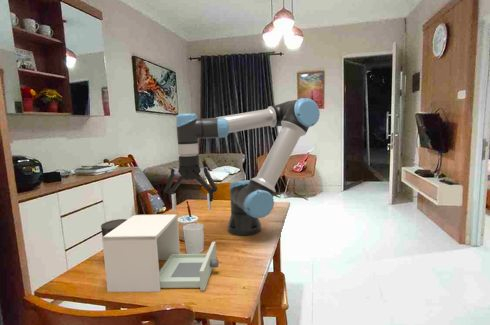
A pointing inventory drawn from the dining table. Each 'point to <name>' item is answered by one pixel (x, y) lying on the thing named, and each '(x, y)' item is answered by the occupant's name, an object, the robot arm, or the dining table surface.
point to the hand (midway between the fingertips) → (192, 210)
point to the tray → (188, 269)
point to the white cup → (194, 238)
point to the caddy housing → (139, 252)
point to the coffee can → (111, 226)
